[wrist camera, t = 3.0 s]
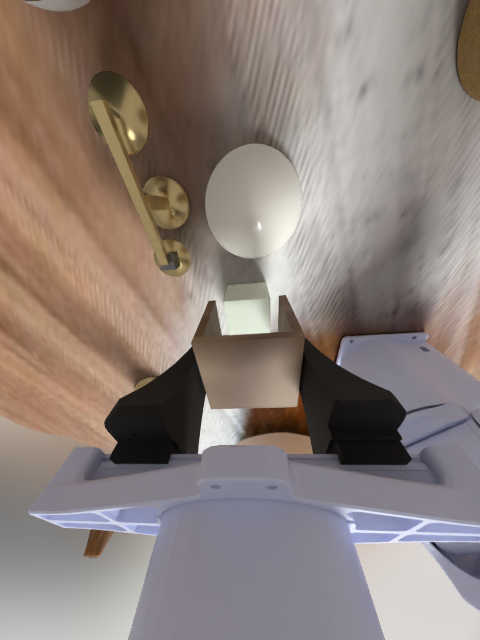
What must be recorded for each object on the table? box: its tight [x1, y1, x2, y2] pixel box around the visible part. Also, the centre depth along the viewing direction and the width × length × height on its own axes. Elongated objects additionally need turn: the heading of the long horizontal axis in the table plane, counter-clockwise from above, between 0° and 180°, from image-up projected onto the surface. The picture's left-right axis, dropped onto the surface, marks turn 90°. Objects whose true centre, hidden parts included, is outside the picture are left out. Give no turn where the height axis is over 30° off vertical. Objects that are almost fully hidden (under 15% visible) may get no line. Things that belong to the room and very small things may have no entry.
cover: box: [191, 295, 305, 409], centre depth 13 cm, size 6×6×5 cm
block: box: [223, 282, 270, 335], centre depth 18 cm, size 4×4×4 cm
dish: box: [205, 144, 302, 259], centre depth 15 cm, size 8×8×1 cm
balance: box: [87, 71, 191, 276], centre depth 13 cm, size 4×11×6 cm, turn 6°
